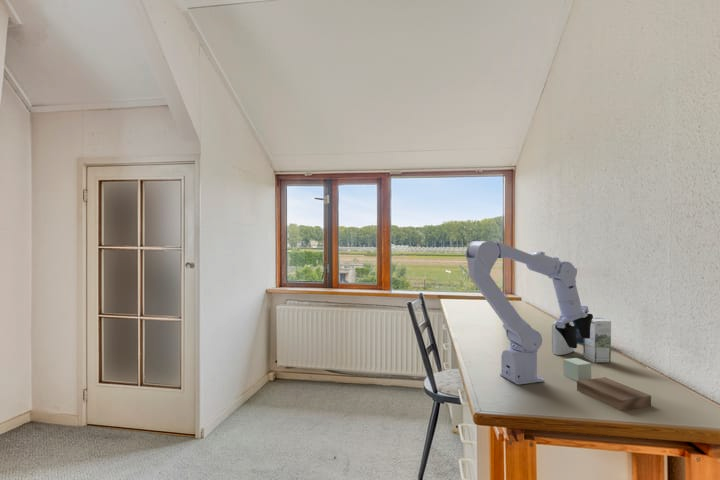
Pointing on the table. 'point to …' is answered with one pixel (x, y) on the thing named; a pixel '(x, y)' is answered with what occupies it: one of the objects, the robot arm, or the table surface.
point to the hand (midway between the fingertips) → (579, 342)
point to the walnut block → (614, 393)
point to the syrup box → (598, 341)
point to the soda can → (578, 335)
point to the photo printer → (560, 342)
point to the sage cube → (577, 369)
